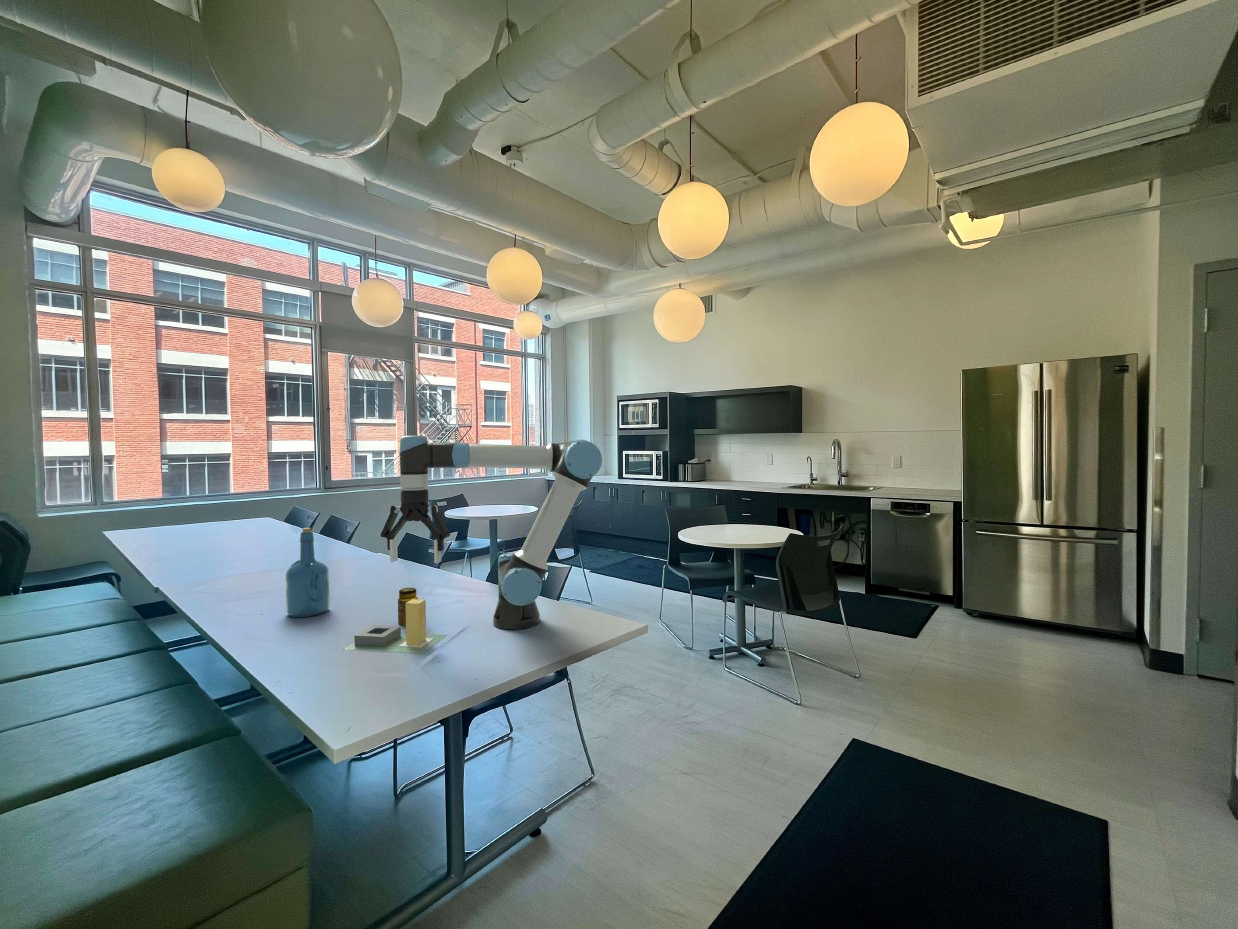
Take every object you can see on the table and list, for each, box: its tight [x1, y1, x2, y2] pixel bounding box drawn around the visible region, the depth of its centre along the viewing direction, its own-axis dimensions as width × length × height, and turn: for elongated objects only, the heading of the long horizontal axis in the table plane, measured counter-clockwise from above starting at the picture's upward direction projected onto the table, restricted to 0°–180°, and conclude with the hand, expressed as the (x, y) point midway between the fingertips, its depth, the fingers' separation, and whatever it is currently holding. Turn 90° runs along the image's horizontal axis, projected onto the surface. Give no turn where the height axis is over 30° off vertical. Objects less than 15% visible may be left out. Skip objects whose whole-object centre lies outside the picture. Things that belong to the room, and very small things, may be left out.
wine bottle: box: [285, 527, 331, 618], centre depth 187 cm, size 14×13×30 cm
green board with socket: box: [343, 624, 448, 655], centre depth 156 cm, size 24×15×4 cm, turn 82°
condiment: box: [397, 587, 418, 626], centre depth 173 cm, size 7×8×12 cm
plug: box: [405, 599, 427, 645], centre depth 155 cm, size 4×4×12 cm
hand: (415, 561), depth 154 cm, fingers open, 13 cm apart
